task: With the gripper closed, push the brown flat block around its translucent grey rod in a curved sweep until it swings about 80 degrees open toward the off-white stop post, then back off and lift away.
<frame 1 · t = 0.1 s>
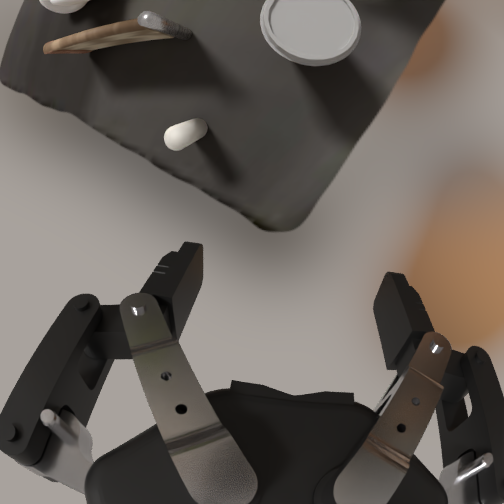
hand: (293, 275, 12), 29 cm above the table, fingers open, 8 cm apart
stop post: (197, 128, 37), on the table
brown flat block: (107, 37, 26), point 6 cm above the table, hinge at 0.0°
disposable coffee cup: (306, 40, 29), on the table
translucent grey rod: (185, 34, 30), on the table
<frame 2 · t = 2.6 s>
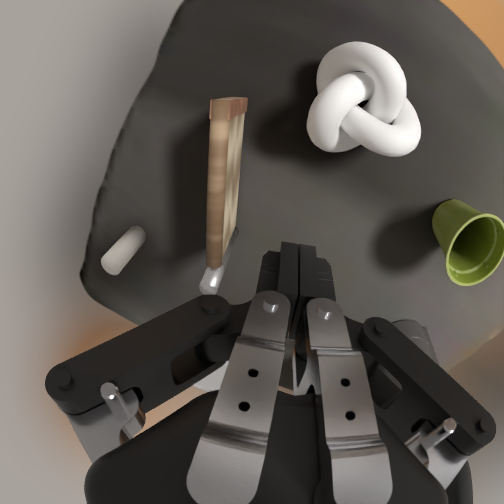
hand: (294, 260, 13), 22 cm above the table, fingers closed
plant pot: (448, 218, 32), on the table
stop post: (137, 234, 40), on the table
brown flat block: (226, 176, 28), point 6 cm above the table, hinge at 0.0°
white decorative knot: (351, 95, 27), on the table
disposable coffee cup: (227, 316, 47), on the table
translucent grey rod: (231, 230, 38), on the table
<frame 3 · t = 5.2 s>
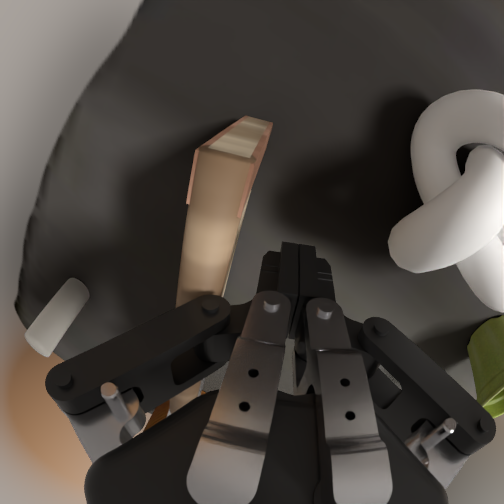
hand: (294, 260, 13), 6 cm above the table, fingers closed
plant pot: (487, 332, 23), on the table
stop post: (78, 289, 26), on the table
brown flat block: (212, 281, 15), point 6 cm above the table, hinge at 2.4°, touching gripper
white decorative knot: (448, 166, 15), on the table
disposable coffee cup: (189, 394, 34), on the table
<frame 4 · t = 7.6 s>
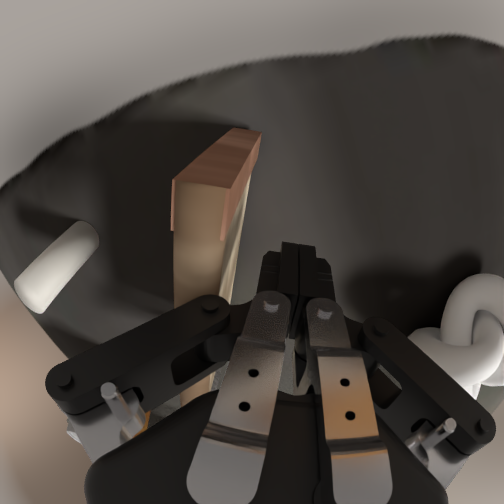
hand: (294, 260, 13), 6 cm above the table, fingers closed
stop post: (85, 236, 22), on the table
brown flat block: (213, 294, 15), point 6 cm above the table, hinge at 39.6°, touching gripper
white decorative knot: (460, 306, 21), on the table
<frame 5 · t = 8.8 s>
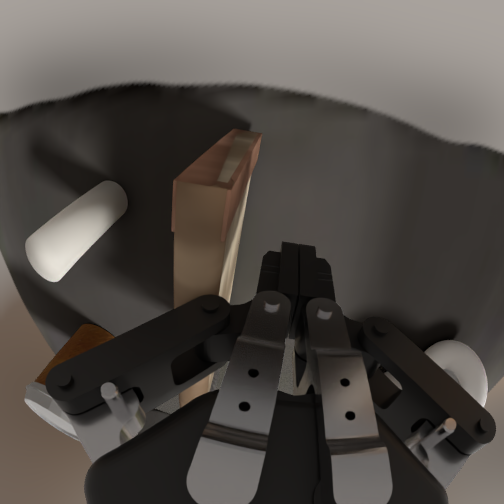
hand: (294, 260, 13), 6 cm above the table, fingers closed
stop post: (110, 199, 19), on the table
brown flat block: (213, 295, 15), point 6 cm above the table, hinge at 59.6°, touching gripper
white decorative knot: (426, 360, 26), on the table
disposable coffee cup: (102, 340, 30), on the table
coffeepot: (169, 420, 40), on the table
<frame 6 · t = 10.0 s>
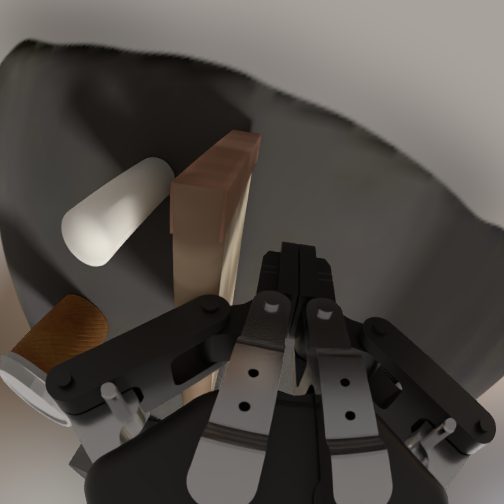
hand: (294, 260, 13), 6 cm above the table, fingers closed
stop post: (154, 178, 18), on the table
brown flat block: (214, 296, 15), point 6 cm above the table, hinge at 76.6°, touching gripper
disposable coffee cup: (85, 314, 28), on the table
coffeepot: (129, 401, 39), on the table
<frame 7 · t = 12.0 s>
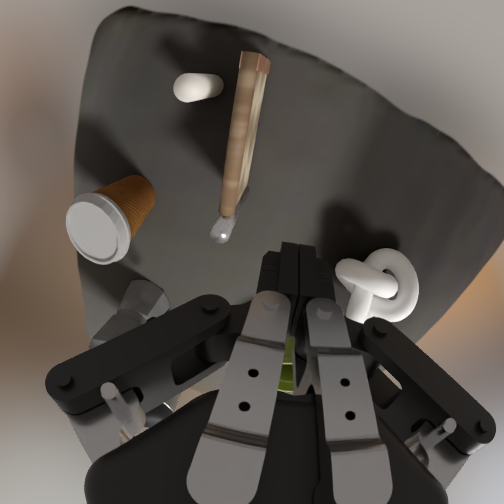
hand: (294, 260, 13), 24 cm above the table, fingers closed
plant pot: (293, 339, 52), on the table
stop post: (211, 85, 30), on the table
brown flat block: (245, 129, 28), point 6 cm above the table, hinge at 76.8°
white decorative knot: (373, 267, 41), on the table
disposable coffee cup: (137, 193, 40), on the table
coffeepot: (152, 295, 52), on the table
translucent grey rod: (242, 189, 38), on the table
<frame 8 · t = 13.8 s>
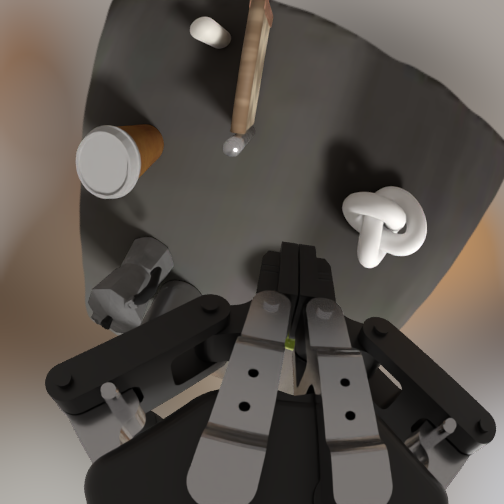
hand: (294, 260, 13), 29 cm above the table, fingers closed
stop post: (220, 38, 31), on the table
brown flat block: (253, 64, 28), point 6 cm above the table, hinge at 76.8°
white decorative knot: (379, 209, 41), on the table
disposable coffee cup: (146, 143, 40), on the table
coffeepot: (155, 254, 51), on the table
translucent grey rod: (248, 131, 37), on the table
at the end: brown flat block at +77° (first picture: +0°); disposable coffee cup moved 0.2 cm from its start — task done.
